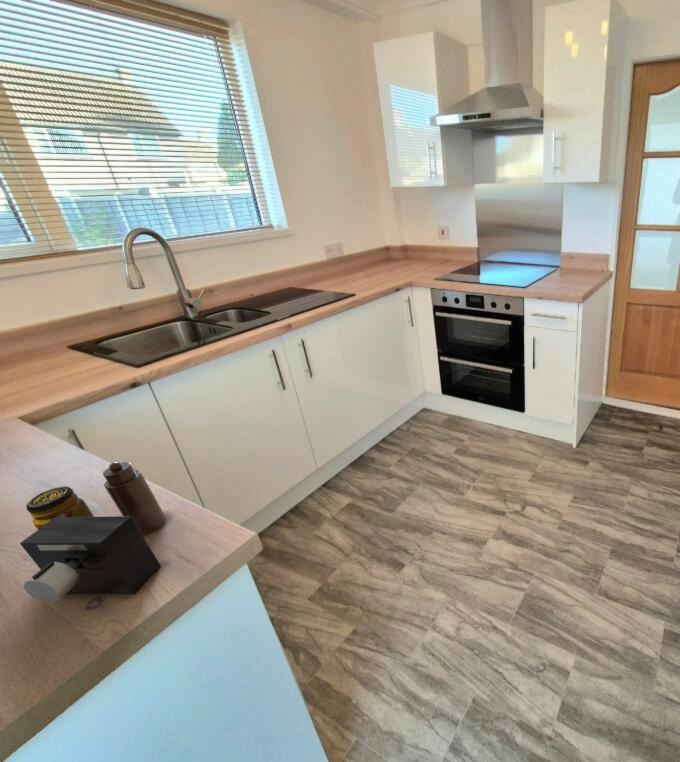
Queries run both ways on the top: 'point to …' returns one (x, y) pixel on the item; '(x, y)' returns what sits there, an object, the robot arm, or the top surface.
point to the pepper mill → (133, 496)
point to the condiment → (56, 506)
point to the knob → (53, 581)
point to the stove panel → (96, 552)
